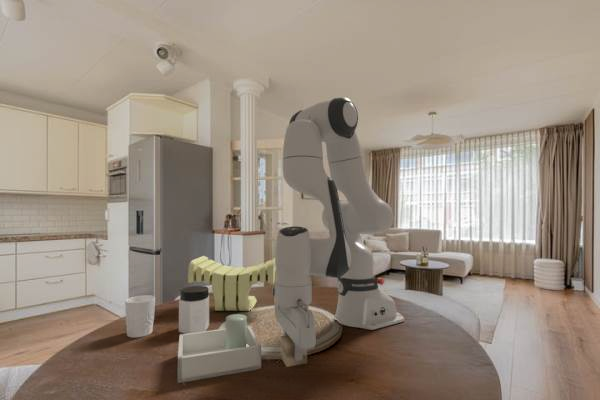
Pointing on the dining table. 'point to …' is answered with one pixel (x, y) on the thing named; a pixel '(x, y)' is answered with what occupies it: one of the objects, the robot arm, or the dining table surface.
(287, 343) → the beech cube
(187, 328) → the jar
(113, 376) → the dining table surface
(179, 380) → the tote
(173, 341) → the dining table surface
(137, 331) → the white cup
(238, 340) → the sage cylinder
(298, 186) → the robot arm
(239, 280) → the slatted curved stool
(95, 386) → the dining table surface
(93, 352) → the dining table surface
